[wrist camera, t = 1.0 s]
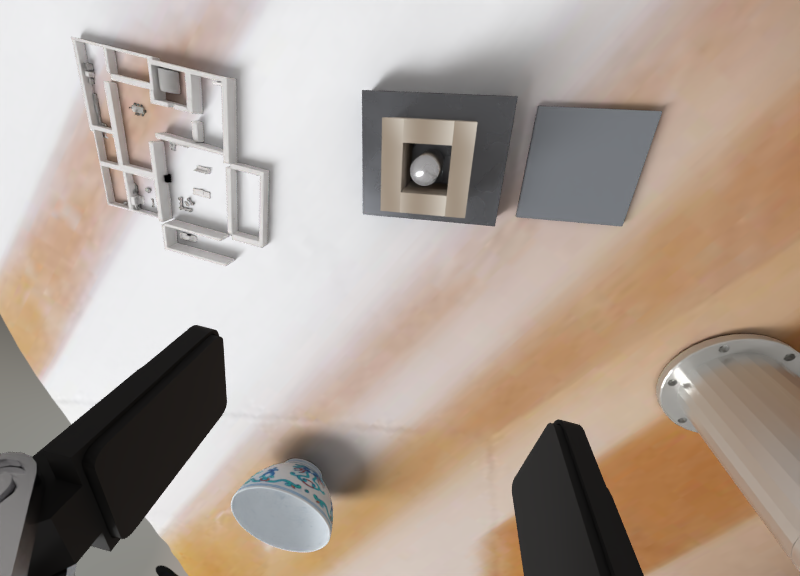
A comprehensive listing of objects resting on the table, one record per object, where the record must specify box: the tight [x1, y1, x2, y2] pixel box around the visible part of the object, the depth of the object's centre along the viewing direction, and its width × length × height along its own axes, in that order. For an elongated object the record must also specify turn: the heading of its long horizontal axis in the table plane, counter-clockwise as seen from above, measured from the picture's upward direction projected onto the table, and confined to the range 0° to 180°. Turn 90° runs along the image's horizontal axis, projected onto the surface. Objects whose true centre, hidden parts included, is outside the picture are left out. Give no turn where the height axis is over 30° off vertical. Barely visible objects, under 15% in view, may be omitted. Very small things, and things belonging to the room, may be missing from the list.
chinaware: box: [231, 458, 333, 552], centre depth 52 cm, size 15×15×8 cm
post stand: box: [362, 90, 518, 226], centre depth 27 cm, size 12×10×8 cm
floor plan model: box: [71, 37, 269, 266], centre depth 35 cm, size 19×25×2 cm
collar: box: [381, 117, 478, 218], centre depth 27 cm, size 6×6×5 cm
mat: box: [516, 106, 662, 226], centre depth 29 cm, size 9×9×1 cm
